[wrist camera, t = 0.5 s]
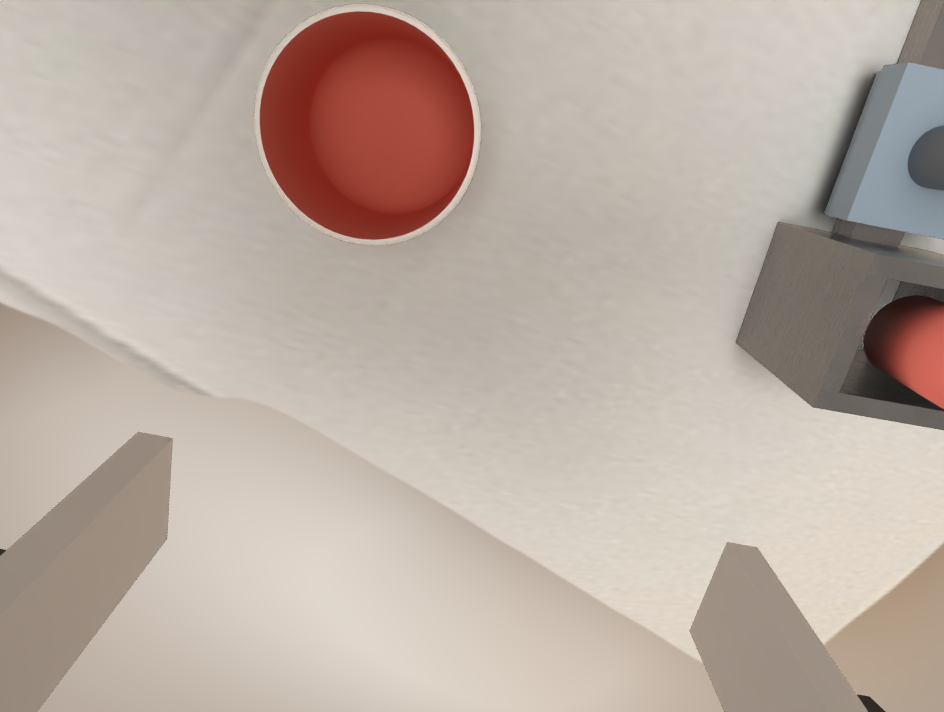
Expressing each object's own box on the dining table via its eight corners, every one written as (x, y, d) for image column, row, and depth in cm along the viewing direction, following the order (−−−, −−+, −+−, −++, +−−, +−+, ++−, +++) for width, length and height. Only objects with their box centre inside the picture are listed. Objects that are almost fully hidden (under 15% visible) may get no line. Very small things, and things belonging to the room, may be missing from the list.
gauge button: (883, 288, 32) (953, 316, 27) (963, 303, 32) (1046, 333, 28) (850, 366, 34) (911, 405, 29) (927, 380, 34) (999, 421, 29)
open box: (778, 222, 38) (876, 254, 29) (934, 252, 39) (1078, 292, 30) (735, 342, 41) (812, 407, 32) (881, 368, 42) (999, 439, 32)
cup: (512, 153, 37) (524, 162, 28) (379, 247, 39) (349, 286, 30) (412, -5, 34) (389, -53, 25) (274, 106, 36) (204, 100, 27)
